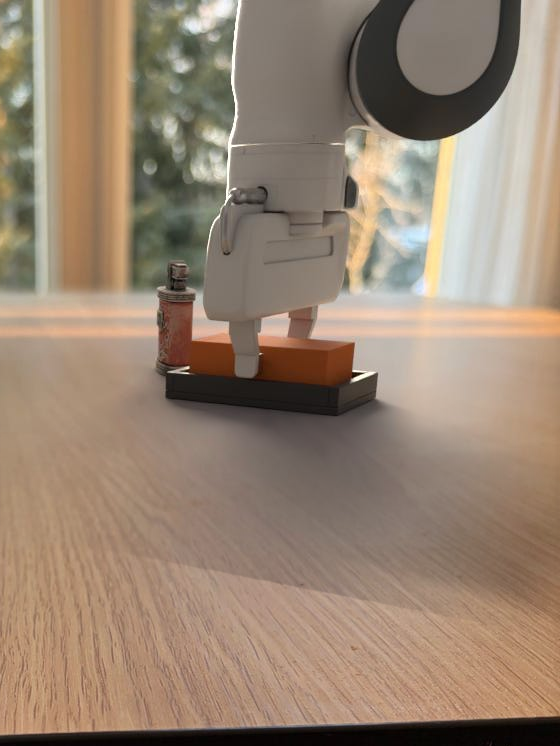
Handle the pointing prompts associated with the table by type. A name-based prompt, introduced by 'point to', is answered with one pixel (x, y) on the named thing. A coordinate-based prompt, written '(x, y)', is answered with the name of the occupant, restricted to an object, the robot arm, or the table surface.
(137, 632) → the table surface
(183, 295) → the lighter
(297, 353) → the block
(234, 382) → the frame
